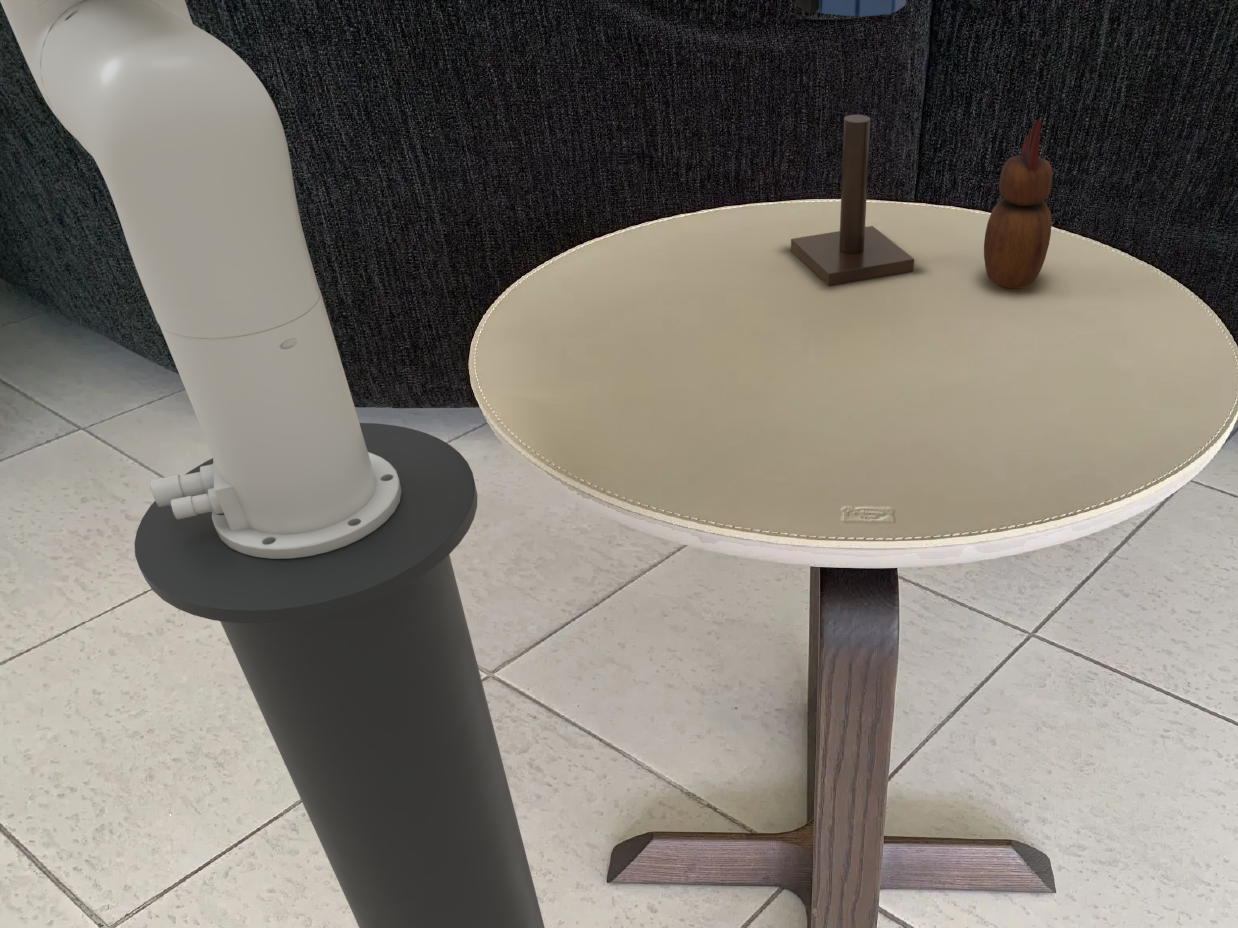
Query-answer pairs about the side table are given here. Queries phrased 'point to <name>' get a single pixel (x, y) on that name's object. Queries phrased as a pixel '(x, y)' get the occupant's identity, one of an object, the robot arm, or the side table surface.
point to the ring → (860, 7)
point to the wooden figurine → (1020, 218)
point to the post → (852, 223)
